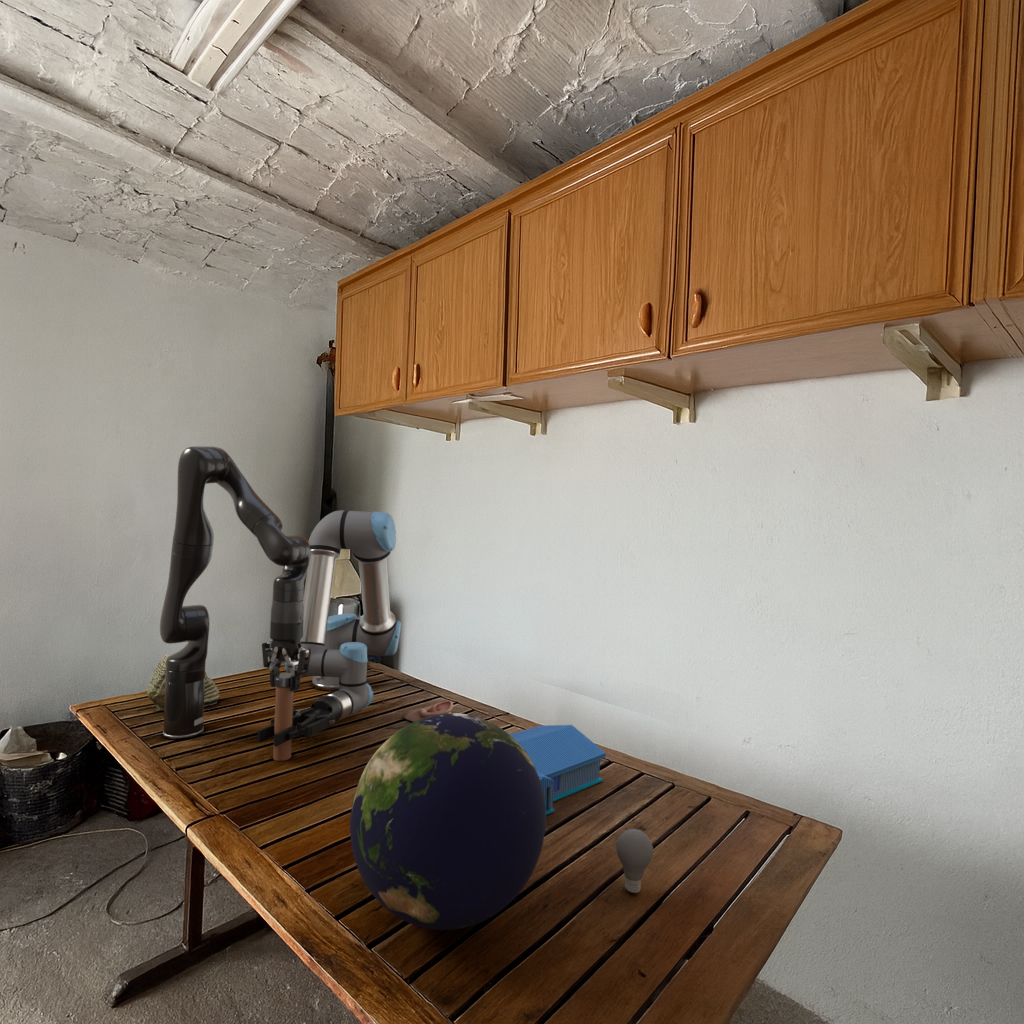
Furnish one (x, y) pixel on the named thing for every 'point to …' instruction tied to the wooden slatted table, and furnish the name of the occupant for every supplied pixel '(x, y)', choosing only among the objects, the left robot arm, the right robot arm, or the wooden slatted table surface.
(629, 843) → the light bulb
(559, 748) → the model building
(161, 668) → the fossil
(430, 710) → the anatomical model
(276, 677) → the lid
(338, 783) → the wooden slatted table surface
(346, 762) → the wooden slatted table surface
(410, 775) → the globe
